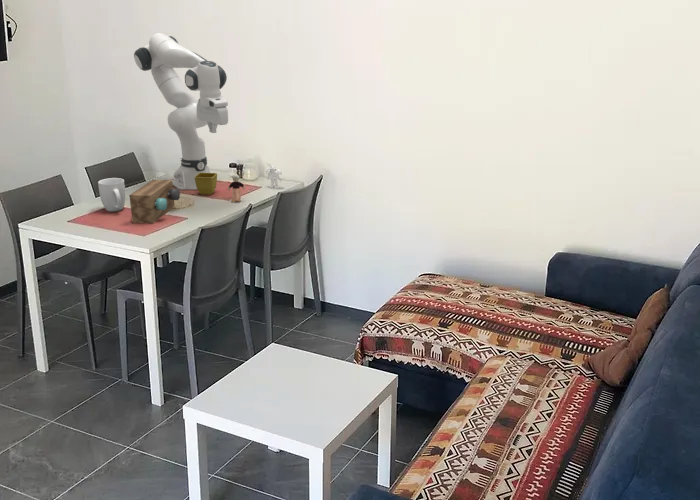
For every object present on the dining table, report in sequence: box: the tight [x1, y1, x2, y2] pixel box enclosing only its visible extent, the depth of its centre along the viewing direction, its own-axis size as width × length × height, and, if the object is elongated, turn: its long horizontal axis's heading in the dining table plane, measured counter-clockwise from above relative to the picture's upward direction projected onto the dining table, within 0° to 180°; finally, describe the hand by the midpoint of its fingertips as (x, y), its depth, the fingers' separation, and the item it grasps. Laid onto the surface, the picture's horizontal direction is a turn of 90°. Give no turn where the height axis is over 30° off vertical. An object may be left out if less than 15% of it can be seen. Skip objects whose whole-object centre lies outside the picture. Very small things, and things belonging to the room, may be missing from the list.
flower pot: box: [195, 172, 218, 195], centre depth 357 cm, size 9×9×9 cm
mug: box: [97, 177, 126, 212], centre depth 332 cm, size 15×11×13 cm
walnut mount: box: [129, 179, 176, 224], centre depth 327 cm, size 9×25×12 cm, turn 171°
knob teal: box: [154, 198, 167, 210], centre depth 319 cm, size 8×5×5 cm, turn 81°
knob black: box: [168, 188, 181, 201], centre depth 333 cm, size 8×5×5 cm, turn 81°
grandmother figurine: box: [227, 173, 246, 203], centre depth 344 cm, size 8×4×13 cm, turn 112°
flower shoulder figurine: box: [264, 163, 283, 189], centre depth 365 cm, size 9×4×12 cm, turn 61°
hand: (213, 132), depth 328 cm, fingers closed
